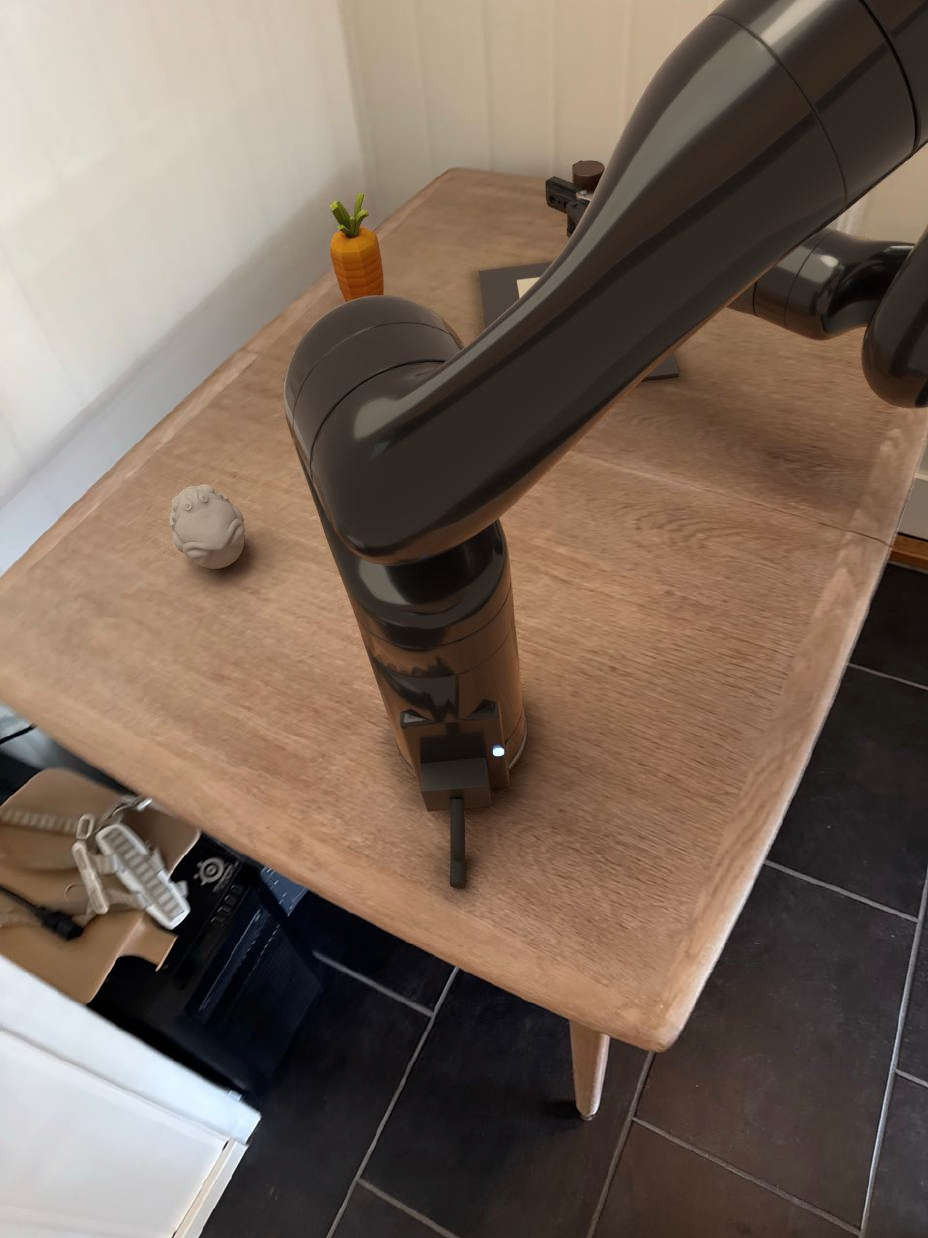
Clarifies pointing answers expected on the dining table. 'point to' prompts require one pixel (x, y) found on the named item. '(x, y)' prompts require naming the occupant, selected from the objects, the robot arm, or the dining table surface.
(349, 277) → the carrot
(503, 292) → the tile
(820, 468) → the dining table surface
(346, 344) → the robot arm
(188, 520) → the frog figurine
